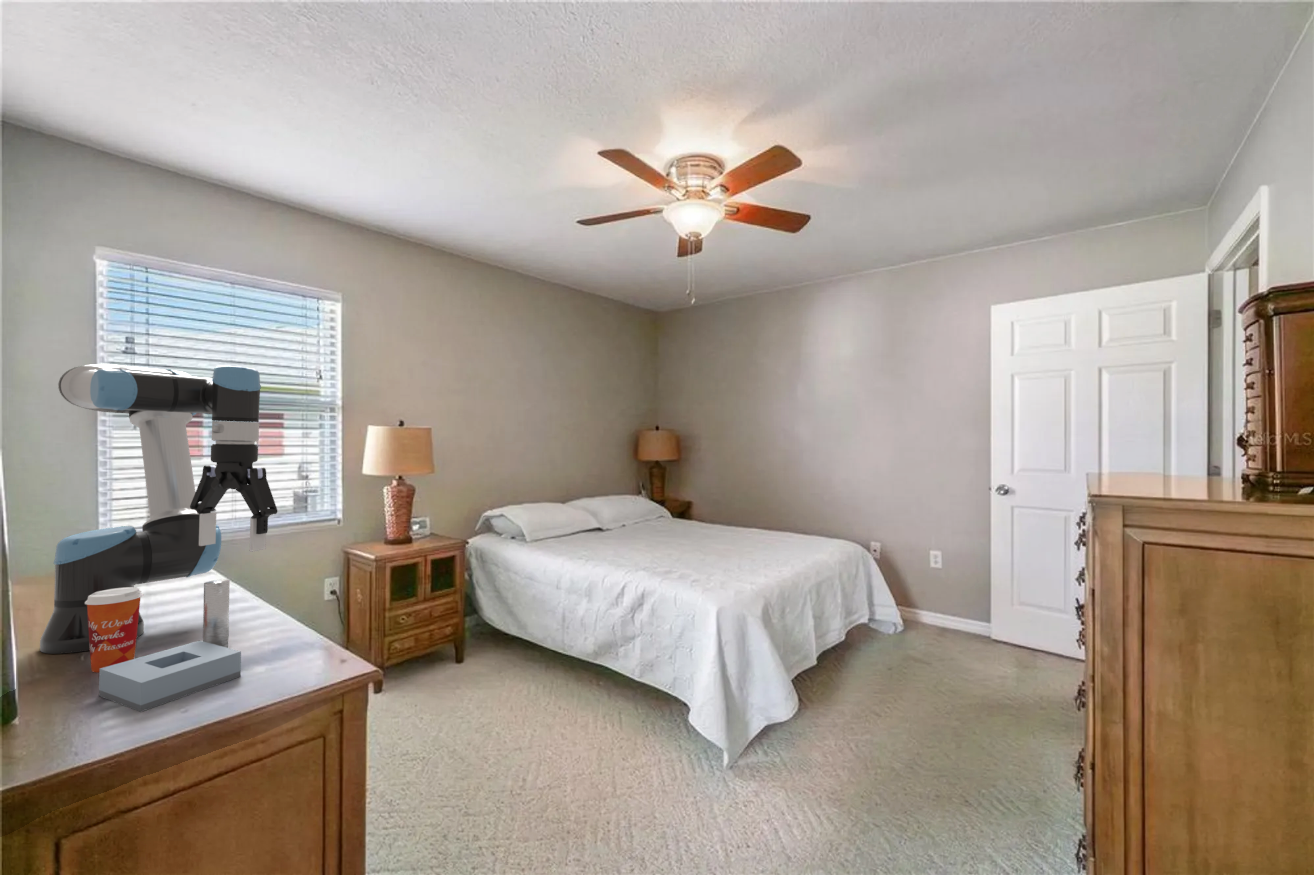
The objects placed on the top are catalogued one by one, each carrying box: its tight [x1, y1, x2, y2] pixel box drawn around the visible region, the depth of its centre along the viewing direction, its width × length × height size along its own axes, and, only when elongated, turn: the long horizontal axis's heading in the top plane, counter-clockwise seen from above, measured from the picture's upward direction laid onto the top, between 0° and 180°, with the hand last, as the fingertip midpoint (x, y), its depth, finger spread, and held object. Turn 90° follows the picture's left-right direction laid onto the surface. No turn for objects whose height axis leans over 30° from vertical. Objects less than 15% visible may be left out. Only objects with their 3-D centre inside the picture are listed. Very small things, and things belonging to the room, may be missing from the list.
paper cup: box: [85, 586, 144, 673], centre depth 100 cm, size 8×8×14 cm
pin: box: [202, 579, 231, 648], centre depth 107 cm, size 4×4×14 cm
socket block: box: [98, 640, 242, 713], centre depth 92 cm, size 13×14×4 cm
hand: (232, 547), depth 108 cm, fingers open, 13 cm apart
